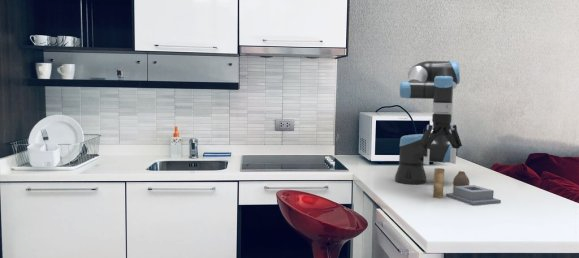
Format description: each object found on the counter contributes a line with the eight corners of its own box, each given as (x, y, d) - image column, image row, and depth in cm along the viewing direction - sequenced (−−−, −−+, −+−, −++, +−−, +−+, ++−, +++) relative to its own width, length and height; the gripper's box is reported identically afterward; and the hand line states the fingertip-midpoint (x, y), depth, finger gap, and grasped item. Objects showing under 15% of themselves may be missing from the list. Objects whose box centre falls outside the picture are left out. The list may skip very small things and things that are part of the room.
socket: (445, 196, 191) (446, 185, 191) (472, 194, 196) (472, 183, 196) (473, 205, 176) (473, 193, 176) (500, 203, 181) (501, 191, 181)
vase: (449, 189, 205) (450, 170, 204) (461, 188, 207) (462, 170, 206) (460, 193, 198) (461, 173, 198) (472, 192, 201) (473, 172, 200)
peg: (431, 196, 191) (432, 168, 190) (438, 195, 193) (440, 168, 191) (437, 198, 187) (438, 170, 186) (445, 197, 189) (446, 169, 188)
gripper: (422, 113, 179) (420, 166, 181) (472, 113, 188) (469, 164, 189) (411, 112, 186) (409, 163, 188) (459, 113, 195) (457, 161, 196)
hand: (439, 163), depth 188 cm, fingers open, 13 cm apart
